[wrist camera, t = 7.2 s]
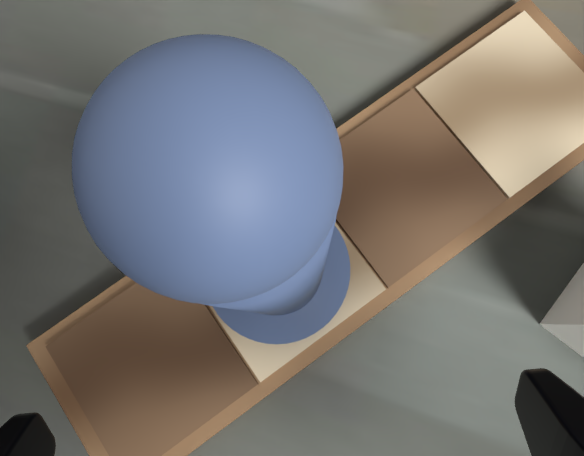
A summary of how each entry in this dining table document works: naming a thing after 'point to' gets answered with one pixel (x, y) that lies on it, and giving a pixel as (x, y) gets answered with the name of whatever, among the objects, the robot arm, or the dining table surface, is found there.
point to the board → (355, 231)
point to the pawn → (217, 184)
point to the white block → (569, 314)
